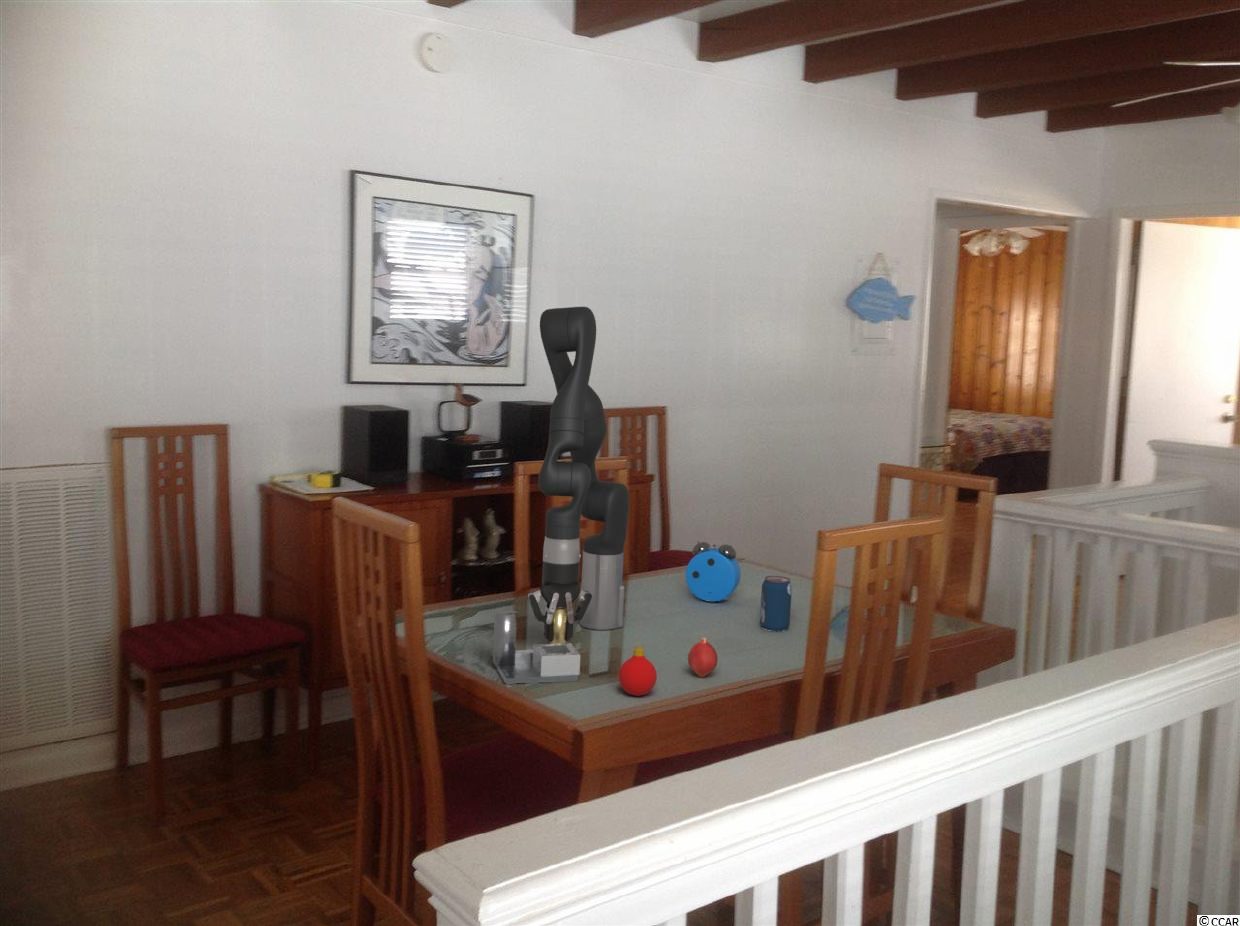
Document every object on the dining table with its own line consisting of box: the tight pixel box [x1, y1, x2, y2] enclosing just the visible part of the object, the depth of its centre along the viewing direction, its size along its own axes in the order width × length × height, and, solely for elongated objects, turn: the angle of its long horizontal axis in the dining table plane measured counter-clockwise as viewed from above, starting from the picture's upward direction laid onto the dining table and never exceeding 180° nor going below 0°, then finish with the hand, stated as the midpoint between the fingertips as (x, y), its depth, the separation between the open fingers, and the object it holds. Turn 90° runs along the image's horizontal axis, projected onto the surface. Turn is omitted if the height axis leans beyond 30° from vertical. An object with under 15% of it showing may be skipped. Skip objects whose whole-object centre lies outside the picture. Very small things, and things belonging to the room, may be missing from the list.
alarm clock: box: [685, 541, 741, 602], centre depth 275 cm, size 13×6×15 cm, turn 71°
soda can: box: [759, 575, 793, 631], centre depth 251 cm, size 7×7×12 cm
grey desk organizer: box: [492, 609, 581, 685], centre depth 210 cm, size 15×12×11 cm
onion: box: [687, 637, 719, 678], centre depth 213 cm, size 6×6×8 cm
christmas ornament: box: [618, 642, 658, 697], centre depth 200 cm, size 7×7×10 cm
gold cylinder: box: [549, 607, 567, 644], centre depth 222 cm, size 3×3×10 cm
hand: (557, 640), depth 223 cm, fingers closed on gold cylinder, 3 cm apart
